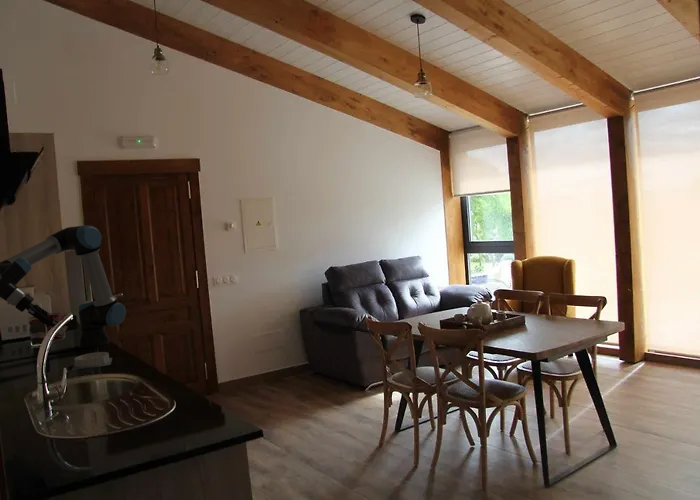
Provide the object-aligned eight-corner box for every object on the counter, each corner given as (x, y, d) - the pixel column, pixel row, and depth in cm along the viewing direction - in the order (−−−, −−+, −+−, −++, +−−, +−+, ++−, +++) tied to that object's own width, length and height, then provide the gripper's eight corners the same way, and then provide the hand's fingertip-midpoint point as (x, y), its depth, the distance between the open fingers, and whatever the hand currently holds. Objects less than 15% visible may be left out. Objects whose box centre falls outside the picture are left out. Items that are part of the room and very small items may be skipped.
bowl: (77, 363, 281) (76, 355, 281) (109, 358, 285) (109, 350, 285) (74, 369, 268) (73, 361, 267) (108, 364, 272) (107, 356, 272)
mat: (75, 363, 282) (75, 363, 282) (112, 358, 287) (112, 357, 287) (71, 371, 266) (71, 370, 266) (110, 365, 271) (110, 364, 271)
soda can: (68, 337, 279) (65, 311, 279) (60, 341, 272) (57, 314, 272) (54, 338, 280) (51, 312, 279) (45, 342, 273) (42, 315, 272)
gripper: (18, 304, 280) (61, 334, 286) (9, 309, 261) (56, 341, 267) (30, 291, 281) (72, 321, 287) (22, 295, 262) (68, 327, 268)
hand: (64, 331), depth 277 cm, fingers closed on soda can, 7 cm apart
